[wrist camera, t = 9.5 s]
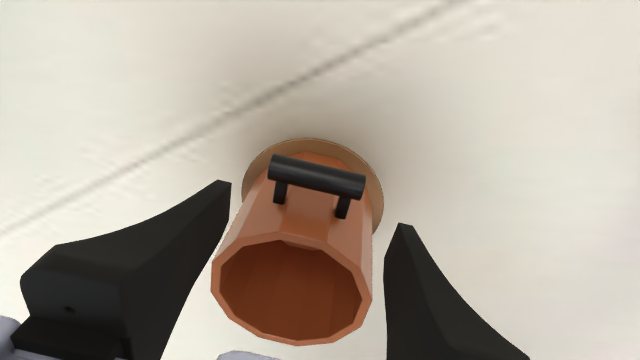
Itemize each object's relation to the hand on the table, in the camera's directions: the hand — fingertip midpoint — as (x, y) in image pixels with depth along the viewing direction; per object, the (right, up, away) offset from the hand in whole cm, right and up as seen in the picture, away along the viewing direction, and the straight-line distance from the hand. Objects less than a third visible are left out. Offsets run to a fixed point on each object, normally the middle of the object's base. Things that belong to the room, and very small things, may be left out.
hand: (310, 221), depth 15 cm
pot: (0, +1, +9) cm, 9 cm away
